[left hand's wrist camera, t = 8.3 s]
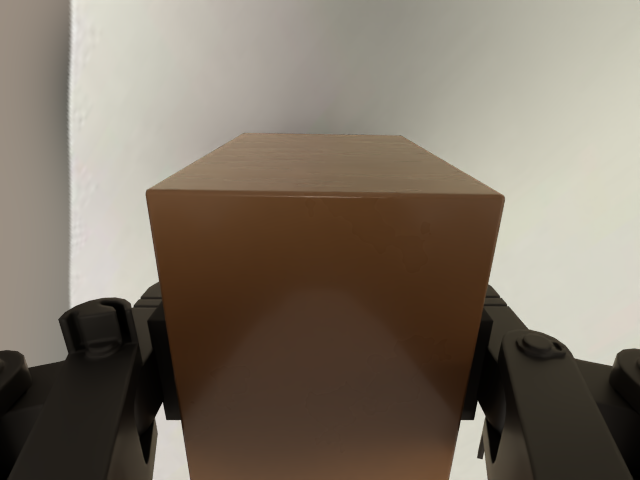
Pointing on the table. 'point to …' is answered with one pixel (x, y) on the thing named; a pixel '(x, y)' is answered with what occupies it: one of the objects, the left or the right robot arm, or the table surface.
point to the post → (322, 305)
